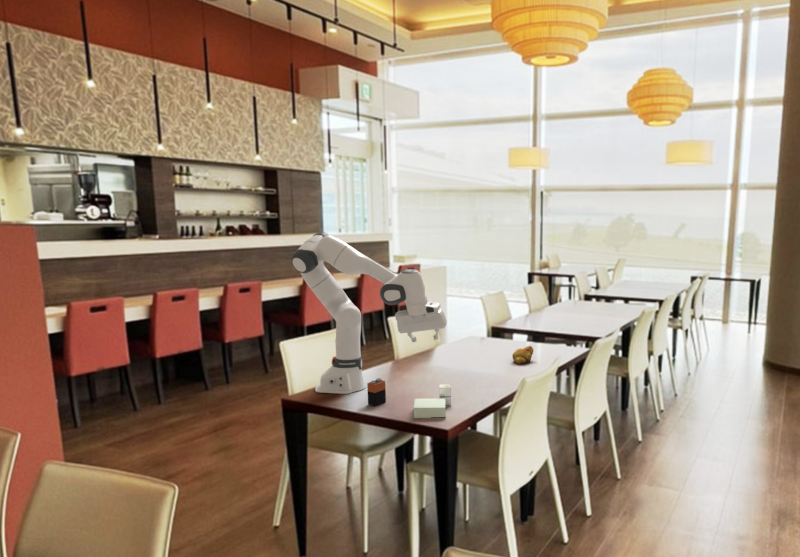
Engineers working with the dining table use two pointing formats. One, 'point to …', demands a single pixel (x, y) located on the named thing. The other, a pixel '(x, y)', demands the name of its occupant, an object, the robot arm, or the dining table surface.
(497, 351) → the dining table surface
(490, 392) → the dining table surface
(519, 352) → the bread roll
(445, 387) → the block
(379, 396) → the battery
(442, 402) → the stand
